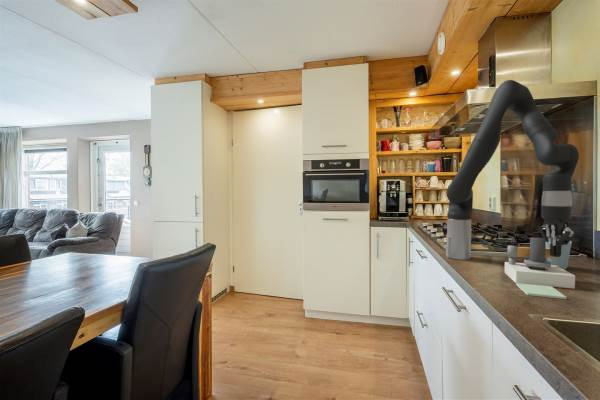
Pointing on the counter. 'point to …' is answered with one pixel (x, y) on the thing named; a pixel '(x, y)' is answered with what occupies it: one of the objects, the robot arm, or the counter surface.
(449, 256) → the robot arm
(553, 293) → the pad
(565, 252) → the cup
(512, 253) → the tan piece
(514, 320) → the counter surface
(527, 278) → the socket block
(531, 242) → the plug
